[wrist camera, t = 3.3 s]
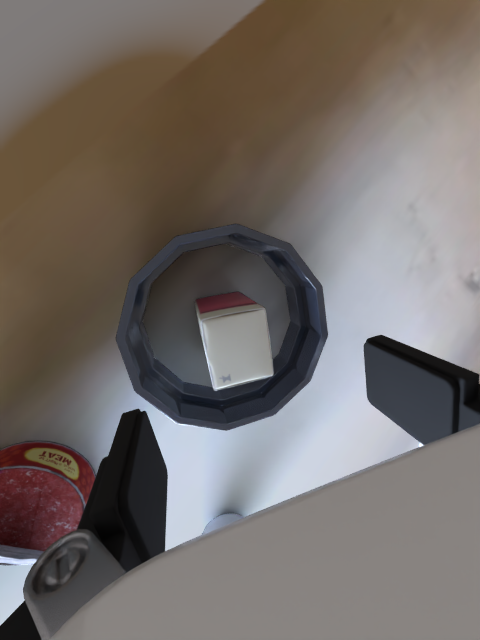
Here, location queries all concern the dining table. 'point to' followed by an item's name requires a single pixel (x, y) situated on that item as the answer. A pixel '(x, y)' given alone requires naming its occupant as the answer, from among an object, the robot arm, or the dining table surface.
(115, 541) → the robot arm
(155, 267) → the ring
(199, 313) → the small box
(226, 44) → the dining table surface
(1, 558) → the canned food
